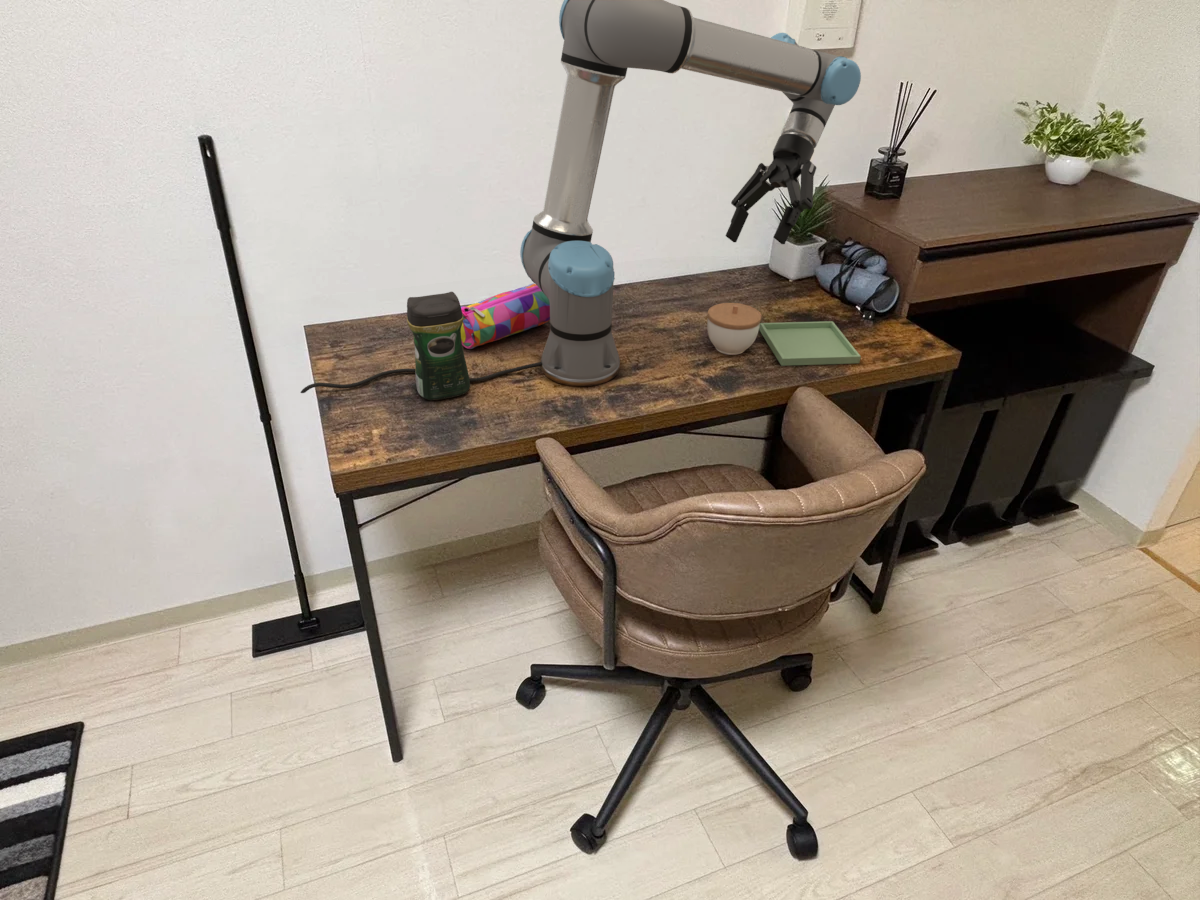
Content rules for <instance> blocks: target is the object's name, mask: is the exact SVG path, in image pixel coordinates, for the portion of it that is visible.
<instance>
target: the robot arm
mask: <svg viewBox="0 0 1200 900" xmlns="http://www.w3.org/2000/svg"><path fill="white" fill-rule="evenodd" d="M558 25H559V31H560V34H561V37H562V39H563V45H562V50H561V51H562V52H561V57H560V64H561V66H562V67H563V70H564V71H565V74H566V79H565V86H564V92H563V97H562V102H561V108H560V113H559V121H558V125H557V131H556V136H555V142H554V148H553V154H552V159H551V164H550V170H549V176H548V182H547V186H546V187H547V188H546V193H545V199H544V203H543V209H542V210H541V211H540V212H538V213H537V214H535V215H534V217H533V220H532V221H533V222H532V225H531V229H530V230H529V231H527V232H526V234H525V235H524V237H523V239H522V241H521V244H520V251H519V252H520V253H519V255H520V261H521V264H522V267H523V269H524V271H525V273H526V275H527V277H528V278H529V279H530V280H531V282H533V283H534V284H536V285H537V286H538V287H539V288H540V289H541V291H542V292H543V293H544V294H545V295H546V297H547V298H548V299H549V302H550V320H549V333H548V336H547V339H546V342H545V345H544V348H543V351H542V354H541V358H540V359H541V360H540V361H539V362H535V363H530V364H525V365H521V366H516V367H512V368H508V369H504V370H501V371H498V372H494V373H491V374H487V375H485V376H481V377H471V378H470V377H469V381H470V383H476V382H477V383H478V382H483V381H487V380H491V379H495V378H496V377H500V376H503V375H507V374H511V373H516V372H519V371H524V370H527V369H531V368H537V367H540V368H541V371H542V373H543V375H544V376H545V377H546V378H548V379H549V380H550V381H553V382H555V383H558V384H561V385H565V386H571V387H590V386H591V387H593V386H599V385H601V384H604V383H605V384H606V383H607V382H609V381H611V380H613V379H614V378H615V377H616V376H617V375H618V374H619V372H620V365H621V364H620V363H621V361H620V355H619V351H618V348H617V346H616V345H617V344H616V342H615V339H614V336H613V331H612V330H613V329H612V328H613V327H612V326H613V324H612V323H613V302H614V284H615V283H614V282H615V268H614V260H613V257H612V255H611V253H610V252H609V250H607V248H605V247H603V246H601V245H600V244H598V243H594V244H593V243H592V239H593V238H592V237H593V233H594V229H593V227H592V226H591V224H590V223H589V220H588V219H589V213H590V209H591V208H590V207H591V204H592V200H593V199H592V198H593V194H594V188H595V184H596V179H597V175H598V171H599V170H598V169H599V166H600V165H599V164H600V159H601V155H602V149H603V145H604V141H605V135H606V131H607V125H608V123H609V122H608V121H609V117H610V111H611V106H612V103H613V97H614V93H615V88H616V86H617V85H618V84H619V83H621V82H622V81H624V80H625V79H626V77H627V73H628V69H639V70H648V71H657V72H663V73H667V74H672V75H673V74H675V73H678V72H679V71H680V70H685V71H689V72H693V73H698V74H703V75H708V76H710V77H711V76H712V77H716V78H720V79H724V80H725V79H726V80H729V81H733V82H738V83H742V84H747V85H751V86H755V87H760V88H764V89H768V90H773V91H777V92H782V94H783V95H785V97H786V98H787V99H788V100H789V101H791V102H792V107H791V109H790V112H789V114H788V116H787V118H786V120H785V123H784V125H783V127H782V130H781V132H780V135H779V137H778V139H777V141H776V144H775V146H774V148H773V149H772V162H771V163H770V164H769V165H765V164H764V163H763V162H760V163H759V164H758V165H757V167H756V169H755V170H754V173H753V174H752V175H751V176H750V177H749V179H748V180H747V181H746V183H745V184H744V185H743V186H742V188H741V189H740V190H739V191H738V193H736V195H735V196H734V198H733V199H732V200H731V205H732V206H733V207H734V208H735V210H734V212H733V215H732V218H731V219H730V225H729V226H728V228H727V231H726V234H725V237H726V238H727V239H728V240H730V241H731V242H732V243H737V241H738V240H739V237H740V235H741V232H742V230H743V228H744V225H745V223H746V221H747V219H748V216H749V214H750V213H749V212H748V211H749V210H750V209H751V208H752V207H754V206H755V205H756V204H757V203H758V202H759V201H760V200H761V199H762V198H763V197H764V196H765V195H766V194H768V193H769V192H773V191H774V190H775V189H780V188H784V189H785V188H787V189H786V190H787V192H788V197H789V201H790V202H789V205H787V206H786V208H785V210H784V212H783V215H782V217H781V219H780V222H779V224H778V226H777V228H776V231H775V233H774V234H773V238H774V240H776V241H777V242H778V243H780V244H781V245H786V242H787V240H788V238H789V236H790V233H791V231H792V228H793V227H795V226H796V224H797V222H798V220H799V217H800V215H801V213H803V212H804V211H805V210H811V209H812V208H813V206H814V179H815V177H814V176H815V174H816V171H817V166H816V165H815V164H814V163H813V162H812V161H811V159H812V157H813V155H814V153H815V148H817V146H818V143H819V141H820V139H821V136H822V135H823V132H824V130H825V127H826V126H827V123H828V121H829V119H830V117H831V114H832V112H833V111H834V108H835V106H842V105H844V104H847V103H848V102H850V101H851V100H852V99H853V98H854V97H855V96H856V94H857V92H858V90H859V88H860V84H861V81H862V74H861V73H862V72H861V69H860V67H859V64H857V62H856V61H854V60H852V59H850V58H847V57H846V56H842V55H837V54H833V53H828V52H825V51H821V50H816V49H813V48H809V47H806V46H802V45H799V44H798V43H797V41H796V39H795V38H793V37H791V36H790V35H789V34H788V33H786V32H778V33H776V34H774V35H771V37H769V36H764V35H761V34H757V33H754V32H750V31H747V30H741V29H739V28H734V27H731V26H727V25H724V24H721V23H716V22H712V21H708V20H705V19H701V18H697V17H693V14H692V11H691V10H690V9H689V8H687V7H685V6H681V5H679V4H678V5H677V4H676V3H675V4H674V3H671V2H669V1H666V0H563V1H562V4H561V7H560V10H559V16H558ZM799 177H800V181H799ZM799 182H800V183H799ZM400 373H401V374H402V373H416V372H415V368H397V369H390V370H386V371H382V372H379V373H376V374H373V375H371V376H370V377H368V378H365V379H362V380H360V381H357V382H353V383H346V384H345V383H344V384H341V383H340V384H338V383H329V382H315V383H312V384H308V385H307V386H305V387H303V388H302V390H301V391H300V394H305V393H307V392H308V391H309V390H311V389H313V388H320V387H321V388H332V389H352V388H356V387H359V386H363V385H365V384H368V383H370V382H372V381H375V380H377V379H379V378H382V377H385V376H389V375H393V374H400Z"/></svg>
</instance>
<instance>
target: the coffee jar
mask: <svg viewBox="0 0 1200 900" xmlns="http://www.w3.org/2000/svg"><path fill="white" fill-rule="evenodd" d="M461 306H462V305H461V303H460V300H459V297H458V295H457V294H456V293H455V292H454V291H448V292H443V293H436V294H429V295H423V296H422V295H421V296H412V297H411V296H409V297H408V298H407V301H406V322H407V326H408V328H409V330H410V331H411V333H412V337H413V344H414V345H413V346H414V363H415V365H414V367H415V368H414V369H415V372H414V373H415V384H416V385H415V386H416V390H417V393H418V395H419V396H420V397H421V398H423V399H425V400H428V401H437V400H444V399H449V398H451V399H452V398H455V397H458V396H463V395H465V394H467V393H468V392H469V390H470V389H471V382H470V381H469V378H470V376H469V371H468V366H467V361H466V357H465V351H464V346H463V345H462V340H461V326H462V323H463V314H462V310H461Z"/></svg>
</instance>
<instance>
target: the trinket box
mask: <svg viewBox="0 0 1200 900" xmlns="http://www.w3.org/2000/svg"><path fill="white" fill-rule="evenodd" d="M706 320H707V321H706V322H707V323H706V329H707V335H708V339H709V341H710V343H711V344H712V345H713V346H714V348H715V350H716V351H717V352H719V353H721V354H724V355H729V356H736V355H741V354H743V353H744V352H745V351H746V350H747V349H749V348H750V347H751V346H752V345H753V344H754V343H755V341H756V340H757V336H758V334H759V332H760V330H759V327H760V323H762V314H761V312H760V311H759V310H758V309H757V308H755V307H753V306H750V305H748V304H744V303H738V302H722V303H718V304H717V303H716V304H714V305H712V306H711V307H709V308H708V310H707V319H706Z"/></svg>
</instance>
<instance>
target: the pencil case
mask: <svg viewBox="0 0 1200 900" xmlns="http://www.w3.org/2000/svg"><path fill="white" fill-rule="evenodd" d="M460 306H461V310H462V314H463V323H462V326H461V340H462V346H463V348H465V349H467V350H473V349H475V348H477V347H479V346H483V345H486V344H489V343H493V342H495V341H499V340H502V339H504V338H507V337H511V336H512V335H516V334H519V333H523V332H525V331H529V330H531V329H533V328H536V327H539V326H541V325H542V326H543V325H544V324H546V323H548V322H550V302H549V299H548V298H547V297H546V295H545V294H544V293H543V292H542V291H541V289H540V288H539V287H538V286H537V285H536V284H535V283H534V282H533V283H529V284H528V285H525V286H522V287H518V288H515V289H511V290H508V291H504V292H502V293H497V294H496V295H493V296H490V297H488V298H485V299H483V300H481V301H478V302H474V303H472V304H469V305H466V306H465V305H464V306H463V305H460Z"/></svg>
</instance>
